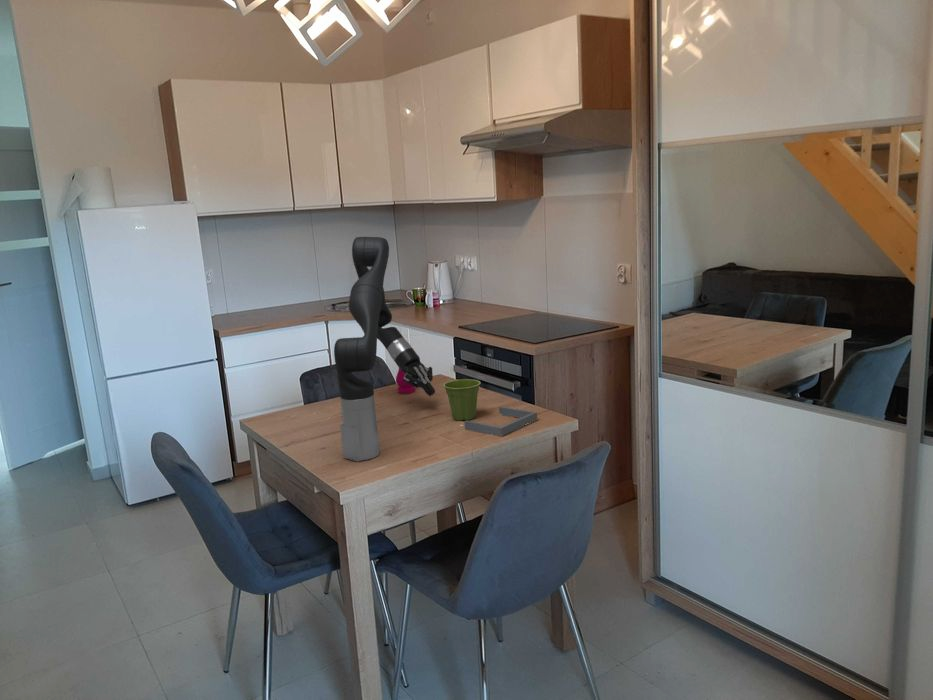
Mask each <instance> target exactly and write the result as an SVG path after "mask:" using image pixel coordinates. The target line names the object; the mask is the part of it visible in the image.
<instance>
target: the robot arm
mask: <svg viewBox="0 0 933 700" xmlns="http://www.w3.org/2000/svg"><path fill="white" fill-rule="evenodd" d="M389 245H390V243H389V242H388V240H387V239H386V238H385V237H380V236H357V237H354V239H353V241H352V246H351V247H352V248H351V256H352V261H353V266H354V268H355V272H356V274H357V277H358V279H357V280H356V281H355V282H354V284H353V285H352V287H351V290H350V293H349V300H348V309H349V312H350V315H351V316H352V317H353V320H355V321H356V323H357V324H358V325H359V327H360V328H361V331H362V332H363V333H364V334H363V336H361V337H360V336H359V337H357V336H356V337H343V338H342V337H340V338H338V339H336V340H335V343H334V346H333V347H334V348H333V356H334V363H335V368H336V375H337V382H338V391H339V398H340V406H341V407H340V408H341V409H340V410H341V419H342V424H340V426H339V429H340V437H341V438H340V439H341V446H342V447H341V448H342V457H343V459H346V460H350V461H354V462H358V463H359V462H362V461H367V460H371V459H374V458H376V457H378V456H379V455H380V443H379V434H378V433H379V432H378V431H379V430H378V421H377V411H376V410H377V409H376V400H375V399H376V398H375V390H374V389H375V388H374V385H373V383H372V382H370V381H367V380H363V379H361V378H359V377H357V376H356V375H354V374H353V373H354V372H368V371H371V370H373V369H374V368H375V364H376V360H377V348H378V341H380V343H381V344H382V345H383V347H385V348H384V349H386V350H387V352H388V354H389V355H390V357H391V359H392V360H393V362H394V363H395V364H396V366H397V367H398V369H399V368H400V370H401V371H403V372H404V374H405V376H404V378H403V381H405V382H407V383H408V384H410V385H412V386H414V387H415V389H418V388H421V389H422V390H423V391H424V392H425V394H426V395H427V396H429V397H432V396H434V394H435V393H436V389H435V388H434V387H433V385H432V383H431V382H432V381H433V378H434V377H433V367H432V366H428V367H426V366H425V364H423V363H422V362H421V358H420V356H419V355H418V353H417V352H416V351H415V349H414V348H413V346H412V345H411V344H410V343H409V341H407V340H406V339H405V337H404V336H403V335H402V333H401V332H400V331H399V330H398V328H397V327H395V326H390V327H385V326H387V325H389V324H390V323H391V322H392V319H393V314H392V312H391V310H390V308H389V307H388V305H387V302H386V296H385V289H384V279H385V275H386V270H387V265H388V261H389V256H390V246H389ZM368 267H369V268H370V269H369V268H368ZM414 382H415V383H414Z"/></svg>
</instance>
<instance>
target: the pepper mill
mask: <svg viewBox="0 0 933 700" xmlns="http://www.w3.org/2000/svg"><path fill="white" fill-rule="evenodd" d="M397 371H398V372H397V373H396V377H395V383H396V385H397V386H398V387H397V393H398V392H399V393H398V394H400V393H409V394H413V393H415V392H416V387H414V386H412V385H410V384H408V383H407V382H405V381H403V378H404V376H405V374H404V372H403V371H401V370H400V368H399V367H398V370H397ZM414 383H415V382H414ZM414 391H415V392H414ZM412 392H413V393H412Z"/></svg>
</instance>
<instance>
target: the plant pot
mask: <svg viewBox="0 0 933 700" xmlns="http://www.w3.org/2000/svg"><path fill="white" fill-rule="evenodd" d="M480 385H481V381H480V380H477V379H471V378H470V379H469V378H468V379H465V378H463V379H455V380H449V381H446V382H445V383H443V387H444V389H445V393H446V394H447V397H448V402H449V406H450V410H451V411H450V412H451V415H452V419H454V420H455V421H463V420H464V421H466V420H467V421H470V420H472V419H474V418H476V416H477V404H478V396H479V395H478V394H479V393H478V392H479V390H480V387H479V386H480Z"/></svg>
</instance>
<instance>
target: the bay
mask: <svg viewBox="0 0 933 700" xmlns="http://www.w3.org/2000/svg"><path fill="white" fill-rule="evenodd" d="M498 412H499V413H498V414H502V415H501V416H505V415H507V417H510V416H514V417H513V418H516V417H521V418H516V420H514V421H511V422H509V423H506V424H504V425H501V426H497V425H493V424H492V425H491V424H486V423H481V422H477V421H472V420H471V421H470V420H464V422H463V423H464V430H466V431H467V430H468V431H471V430H472V432H477V433H481V432H482V434H487V435H491V434H493V435H492V436H495V435H498V436H497V437H500V436H502V437H504V436H506V435H508V434H507V433H509V432H511V433H513V432H515V431H517V430H519V429H521V428H523V427H522V426H523V425H525V424H527V423H530V422H532V421H534V420H536V419H537V420H538V412H537V411H532V410H524V409H518V408H513V407H508V406H498ZM534 422H535V421H534ZM532 423H533V422H532ZM530 424H531V423H530ZM520 427H521V428H520ZM518 428H519V429H518ZM516 429H517V430H516ZM514 430H515V431H514ZM512 431H513V432H512ZM505 434H506V435H505ZM509 434H510V433H509ZM503 435H504V436H503Z"/></svg>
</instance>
